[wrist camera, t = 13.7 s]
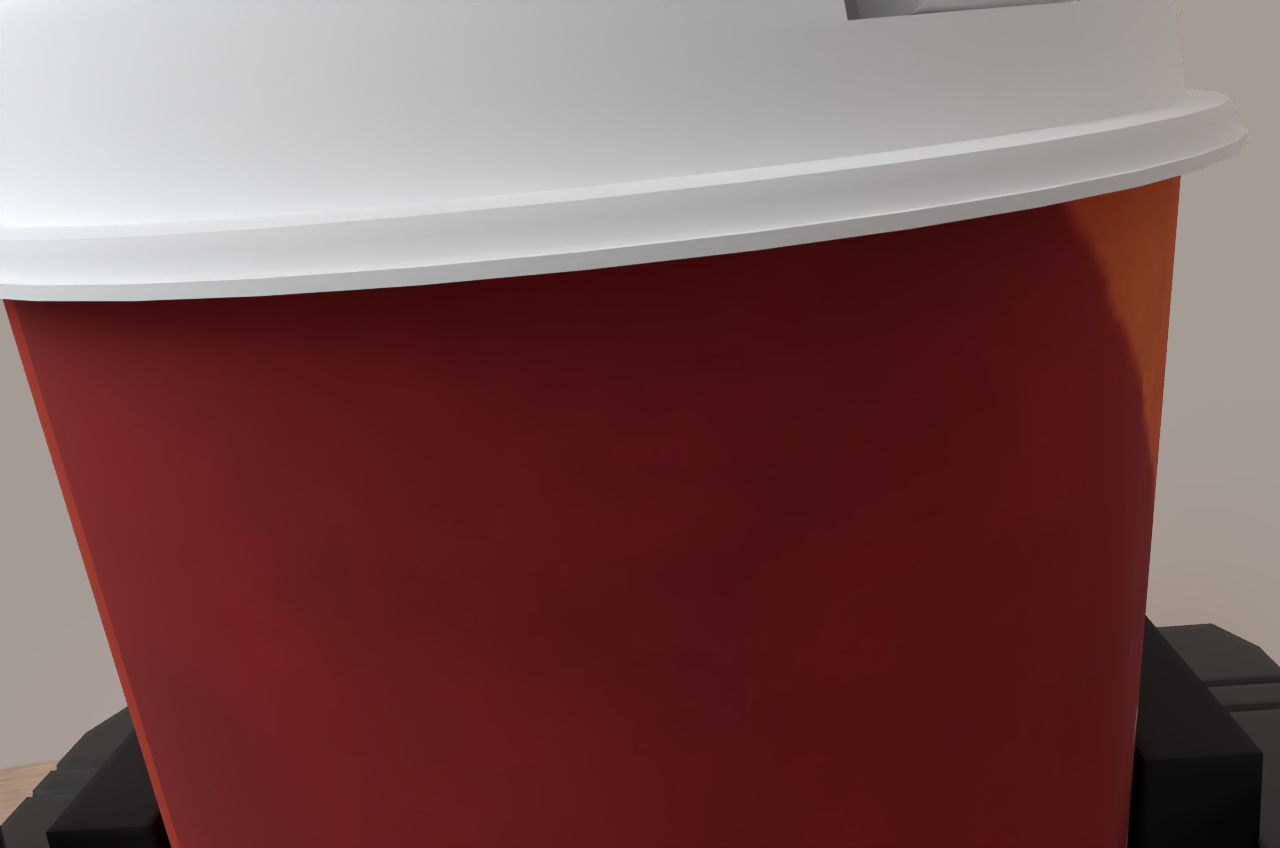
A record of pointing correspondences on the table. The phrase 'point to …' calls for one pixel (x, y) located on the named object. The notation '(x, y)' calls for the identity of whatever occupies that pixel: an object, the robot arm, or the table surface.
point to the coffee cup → (609, 406)
